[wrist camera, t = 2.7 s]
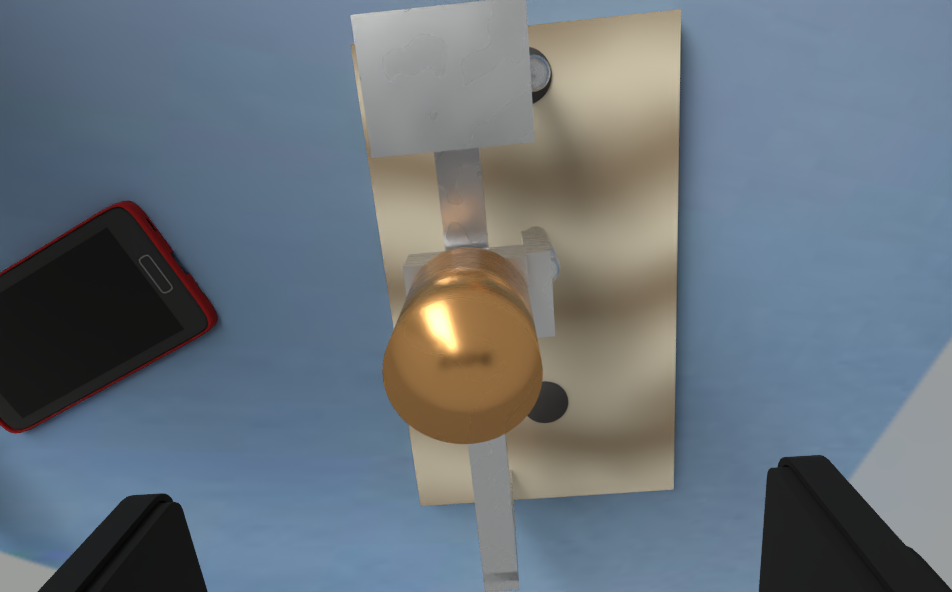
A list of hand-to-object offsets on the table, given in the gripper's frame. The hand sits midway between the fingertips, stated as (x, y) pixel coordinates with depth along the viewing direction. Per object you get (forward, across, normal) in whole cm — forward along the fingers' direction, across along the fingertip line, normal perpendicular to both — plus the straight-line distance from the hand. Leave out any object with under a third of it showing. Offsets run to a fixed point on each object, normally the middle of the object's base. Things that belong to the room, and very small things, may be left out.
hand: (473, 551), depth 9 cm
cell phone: (+22, +23, +2) cm, 32 cm away
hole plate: (+22, -2, +2) cm, 22 cm away
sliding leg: (+19, 0, 0) cm, 19 cm away
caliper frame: (+20, 0, +2) cm, 20 cm away
